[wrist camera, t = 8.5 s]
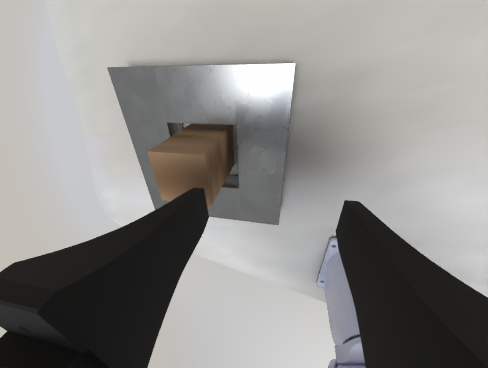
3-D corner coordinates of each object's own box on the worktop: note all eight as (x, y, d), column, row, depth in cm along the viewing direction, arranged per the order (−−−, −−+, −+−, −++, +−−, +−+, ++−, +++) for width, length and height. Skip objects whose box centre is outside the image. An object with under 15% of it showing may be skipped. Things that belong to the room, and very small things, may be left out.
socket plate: (279, 209, 22) (278, 225, 20) (166, 197, 24) (155, 209, 22) (294, 63, 14) (295, 63, 12) (129, 66, 17) (107, 67, 15)
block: (234, 164, 20) (211, 205, 14) (197, 161, 21) (162, 200, 15) (232, 124, 18) (204, 155, 12) (191, 123, 19) (147, 151, 13)
